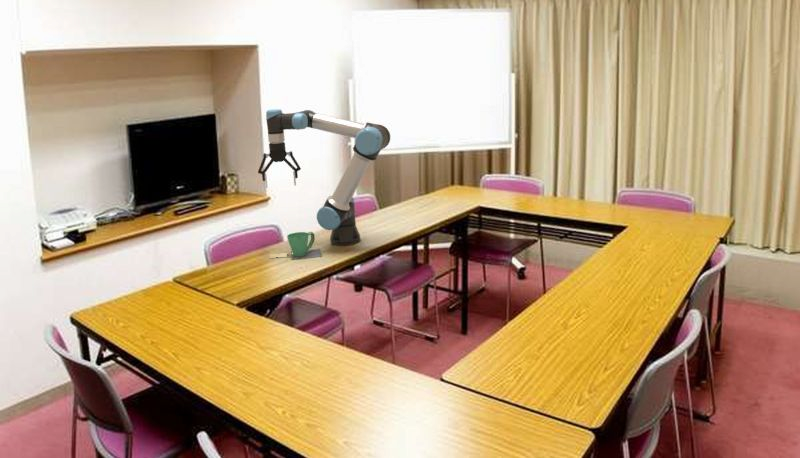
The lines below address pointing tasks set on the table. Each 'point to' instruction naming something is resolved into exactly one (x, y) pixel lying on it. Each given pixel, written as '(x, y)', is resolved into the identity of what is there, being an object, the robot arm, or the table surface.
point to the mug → (300, 242)
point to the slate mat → (308, 254)
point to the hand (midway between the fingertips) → (281, 186)
